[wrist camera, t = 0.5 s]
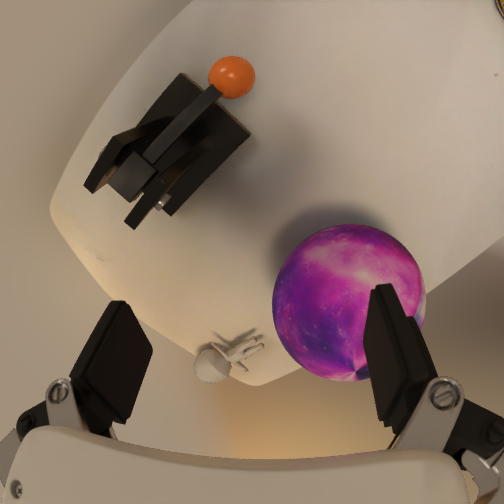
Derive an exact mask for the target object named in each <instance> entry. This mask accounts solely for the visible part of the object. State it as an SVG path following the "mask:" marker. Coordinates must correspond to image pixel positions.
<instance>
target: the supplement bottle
mask: <svg viewBox="0 0 504 504" xmlns="http://www.w3.org/2000/svg"><path fill="white" fill-rule="evenodd" d="M496 3H497V6H498V8H499V10H500V12H501V14H502V15H503V17H504V0H496Z"/></svg>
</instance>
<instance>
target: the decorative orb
mask: <svg viewBox="0 0 504 504" xmlns="http://www.w3.org/2000/svg"><path fill="white" fill-rule="evenodd" d="M386 283H391V284H392V285H393V287H394V289H395V291H396V293H397V295H398V298H399V300H400V302H401V304H402V307H403V309H404V311H405V314H406V316H413V317H414V318H415V320H416V322H417V324H418V327H419V329H420V330H421V327H422V324H423V320H424V316H425V309H426V292H425V285H424V281H423V277H422V274H421V272H420V269H419V267H418V265H417V263H416V261H415V260H414V258H413V257H412V255H411V254H410V252H409V251H408V250H407V249H406V248H405V247H404V246H403V245H402V244H401V243H400V242H399V241H398V240H396V239H395V238H394V237H392V236H391V235H389V234H387V233H385V232H383V231H381V230H379V229H376V228H373V227H369V226H365V225H357V224H347V225H338V226H333V227H330V228H327V229H324V230H321V231H319V232H317V233H315V234H313V235H311V236H310V237H308V238H307V239H306V240H304V241H303V242H302V243H301V244H299V245H298V246H297V247H296V248H295V249H294V250H293V252H292V253H291V254H290V255H289V256H288V258H287V259H286V261H285V262H284V264H283V266H282V268H281V269H280V272H279V274H278V276H277V279H276V282H275V286H274V291H273V298H272V313H273V320H274V324H275V328H276V331H277V334H278V336H279V338H280V340H281V342H282V344H283V346H284V347H285V349H286V350H287V352H288V353H289V354H290V356H291V357H292V358H293V359H294V360H295V361H296V362H297V363H298V364H300V365H301V366H302V367H304V368H305V369H306V370H308V371H310V372H312V373H313V374H316V375H318V376H320V377H323V378H326V379H330V380H335V381H357V380H363V379H367V378H370V374H369V369H368V365H367V361H366V356H365V352H364V348H363V334H364V329H365V323H366V317H367V311H368V305H369V298H370V291H371V289H375V286H376V285H378V284H386Z"/></svg>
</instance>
